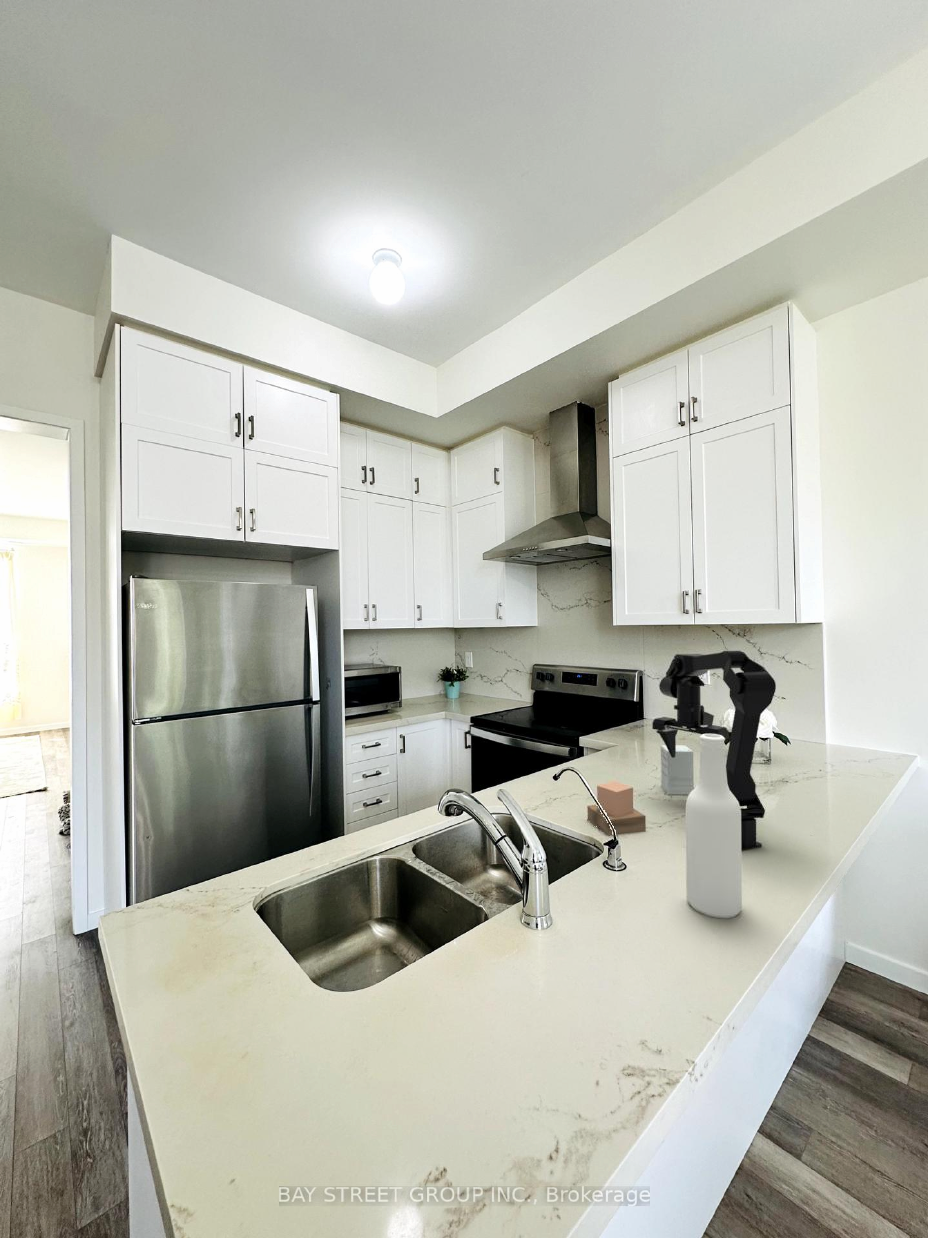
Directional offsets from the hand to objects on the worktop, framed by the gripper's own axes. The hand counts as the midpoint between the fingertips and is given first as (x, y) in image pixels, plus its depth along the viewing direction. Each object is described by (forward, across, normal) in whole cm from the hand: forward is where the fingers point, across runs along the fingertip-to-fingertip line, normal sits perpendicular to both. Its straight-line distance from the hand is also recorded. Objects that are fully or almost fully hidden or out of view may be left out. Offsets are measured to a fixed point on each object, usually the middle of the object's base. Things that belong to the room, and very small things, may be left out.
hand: (689, 761), depth 139 cm
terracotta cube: (+9, +5, +24) cm, 26 cm away
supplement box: (+13, +11, -12) cm, 21 cm away
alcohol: (+13, -29, +39) cm, 50 cm away
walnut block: (+13, +5, +23) cm, 27 cm away
